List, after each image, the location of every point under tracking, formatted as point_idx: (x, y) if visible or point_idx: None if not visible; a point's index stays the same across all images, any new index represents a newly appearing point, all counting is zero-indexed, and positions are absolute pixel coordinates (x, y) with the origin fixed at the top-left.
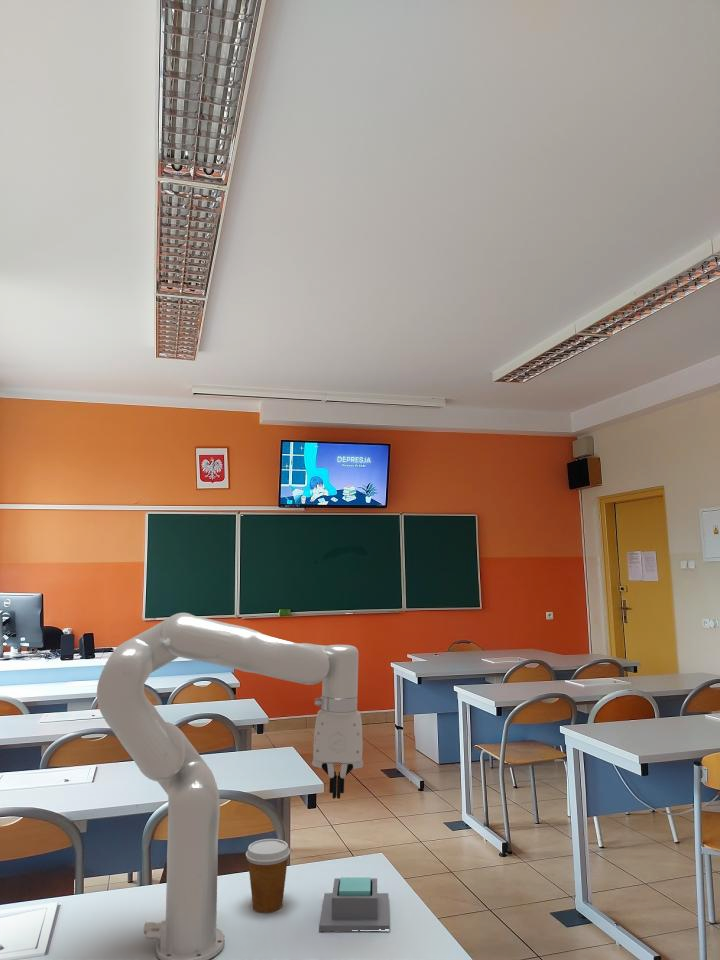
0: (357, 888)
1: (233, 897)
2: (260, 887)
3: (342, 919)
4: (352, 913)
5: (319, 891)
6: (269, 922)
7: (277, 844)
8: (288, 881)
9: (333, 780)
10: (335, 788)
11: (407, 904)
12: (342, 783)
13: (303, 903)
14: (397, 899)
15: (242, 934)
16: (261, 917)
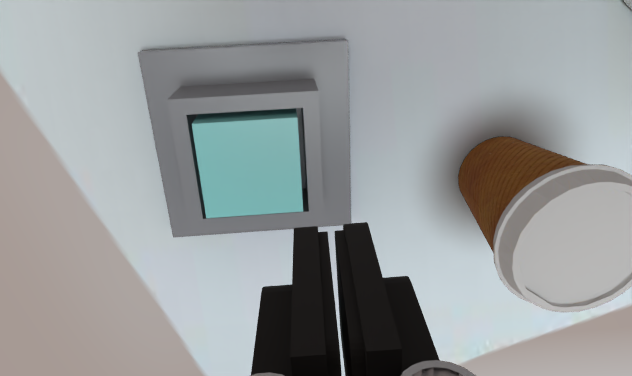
0: (237, 139)
1: None
2: (549, 151)
3: (283, 81)
4: (252, 86)
5: None
6: (486, 86)
7: (547, 278)
8: (449, 297)
9: (390, 329)
10: (349, 277)
11: (119, 206)
12: (273, 345)
13: (402, 192)
14: (151, 230)
15: (557, 15)
16: (509, 112)
